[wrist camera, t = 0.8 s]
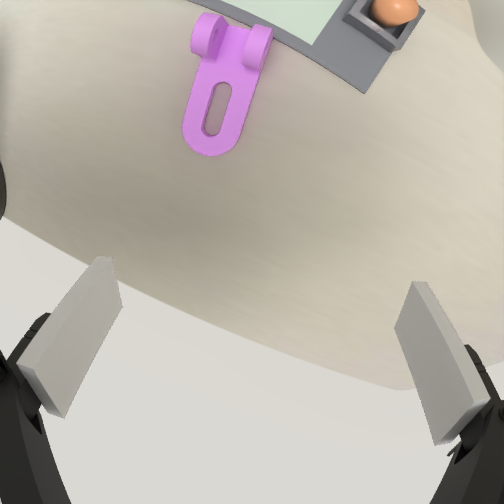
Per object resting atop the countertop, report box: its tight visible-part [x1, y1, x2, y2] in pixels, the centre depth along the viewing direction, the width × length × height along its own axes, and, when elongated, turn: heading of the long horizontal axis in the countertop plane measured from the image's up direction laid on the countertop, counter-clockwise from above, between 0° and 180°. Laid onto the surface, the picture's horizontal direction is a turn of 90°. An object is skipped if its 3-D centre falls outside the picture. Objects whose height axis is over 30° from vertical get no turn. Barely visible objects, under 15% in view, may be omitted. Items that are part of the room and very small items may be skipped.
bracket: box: [182, 12, 273, 156], centre depth 25 cm, size 13×6×7 cm, turn 163°
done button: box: [369, 0, 419, 28], centre depth 19 cm, size 3×3×4 cm
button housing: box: [342, 0, 425, 52], centre depth 21 cm, size 6×6×3 cm
